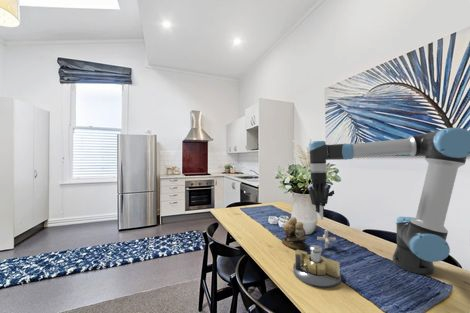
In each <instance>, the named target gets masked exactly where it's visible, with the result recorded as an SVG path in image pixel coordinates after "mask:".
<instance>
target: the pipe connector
mask: <svg viewBox="0 0 470 313" xmlns="http://www.w3.org/2000/svg"><path fill="white" fill-rule="evenodd" d="M316 238H317V239H316V240H317V241H324V248H325V249H329V245H330V244H331V242H336V241H337V238H336V237H331V236H330V237H329V230H328V229H324V234H322V236H316Z"/></svg>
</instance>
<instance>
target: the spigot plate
mask: <svg viewBox="0 0 470 313" xmlns="http://www.w3.org/2000/svg"><path fill="white" fill-rule="evenodd" d="M309 250H310V254H311V262H314V263H321V256H322V252H323V247H322V246H320V245H318V244H317V245H316V244H311V245H310V246H309ZM294 256H295V257H294V258H295V260H294V263H293V265H292V268H293V269H292V270H293V274H294V277H295V278H297V279H298V280H299V281H300V282H302V283H304V284H306V285H308V286H310V287H314V288H319V289H330V288H335V287H338V286H339V285H340V284H341V281H342V273H341V272H340V275H339V277H335V276H332V275H329V274H325V275H317V274H316V275H315V274H313V273H310V272H308V271H307V270H306V269H305V268H304V265H301V258H300V255H299V254H295V253H294Z"/></svg>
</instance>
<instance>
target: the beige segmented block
mask: <svg viewBox="0 0 470 313" xmlns="http://www.w3.org/2000/svg"><path fill="white" fill-rule="evenodd" d="M294 252H295V253H294V255H295V254H299V255H300V258H301V265H304V268H305V269H306V270H307V271H308V272H310V273H313V274H315V275H316V274H317V275H325V274H329V275H332V276H335V277H339V275H340V273H341V271H340V269H341V267H340V262H339V261H336V260H334V259H330V258H326V257H325V256H323V255H321V263H314V262H311V253H310V254H308V252H307V251H305V250H298V249H297V250H294Z"/></svg>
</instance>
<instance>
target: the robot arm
mask: <svg viewBox="0 0 470 313" xmlns="http://www.w3.org/2000/svg"><path fill="white" fill-rule="evenodd" d="M403 155H404V156H405V155H410V156H411V157H417V156H418V157H419V156H420V157H421V156H422V157H424V160H425V161H426V162H427V163H428V165H427V169H426V174H425V177H424V182H423V186H422V190H421V194H420V199H419V203H418V207H417V212H416V216H415V217H411V216H399V217H397V218H396V222H395V224H396V248H395V249H394V252H393V255H392V263H393V264H394V265H395V266H397V267H398V268H400V269H402V270H405V271H407V272H410V273H414V274H419V275H432V274H434V273H435V265H434V263H436V262H441V261H444V260H445V259H447V258H448V256H450V255H449V254H450V253H451V251H450V250H451V249H450V246H449V244H448V241H447V237H448V233H449V231H448V230H447V228H446V227H445V226H444V225H445V221H446V217H447V213H448V209H449V205H450V202H451V198H452V193H453V189H454V186H455V182H456V178H457V173H458V169H459V168H460V167H462V166H465V164H466V161H467V159H468V156H469V155H470V131H469V130H468V129H465V128H462V127H446V128H442V129H439V130H434V131H431V132H427V133H426V132H425V133H423V134H418V135H410V136H409V137H408V138H401V139H400V138H399V139H390V140H380V141H379V140H378V141H368V142H360V143H336V144H326V141H325V140H314V141H311V142H310V143H309V162H310V163H309V164H310V165H309V166H310V180H311V182H310V185H308V186H306V189H307V190H308V193H309V197H310V201H311V205H314V206H315V212H316V219H319V220H324V211H325V206H326V205H327V204H328V199H329V194H330V189H331V187H332V186H331V185H330V184H328V183H327V179H328V175H327V174H328V172H327V170H328V169H327V161H328V160H329V161H330V160H333V161H335V160H339V161H340V160H345V161H346V160H353V159H356V158H357V159H358V158H372V157H373V158H374V157H388V156H403Z"/></svg>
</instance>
